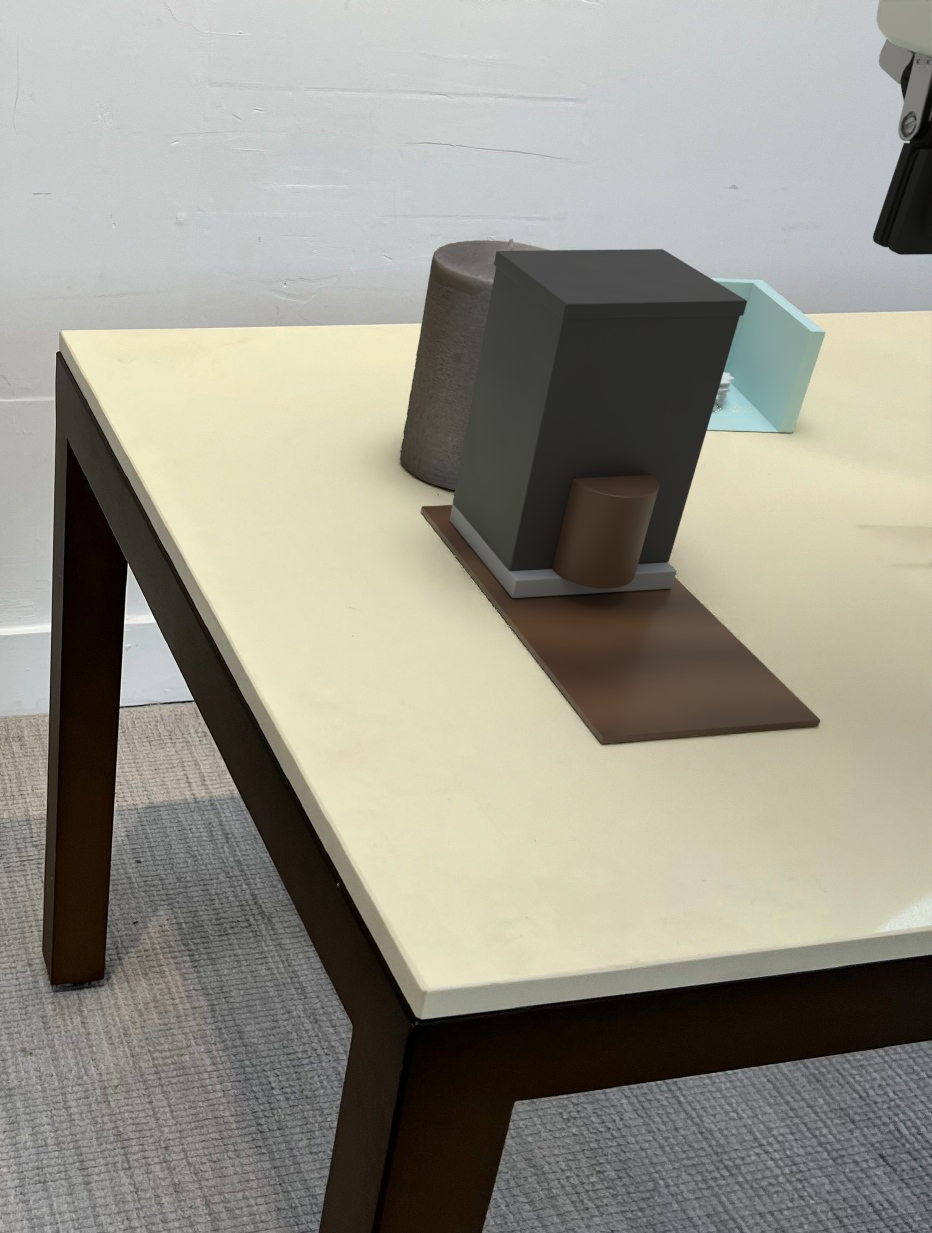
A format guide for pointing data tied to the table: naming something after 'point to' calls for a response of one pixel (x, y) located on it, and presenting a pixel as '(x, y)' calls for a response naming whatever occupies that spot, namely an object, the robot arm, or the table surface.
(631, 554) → the coffee maker
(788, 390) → the right angle wall
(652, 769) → the table surface
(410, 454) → the pillar candle
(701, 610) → the base board
